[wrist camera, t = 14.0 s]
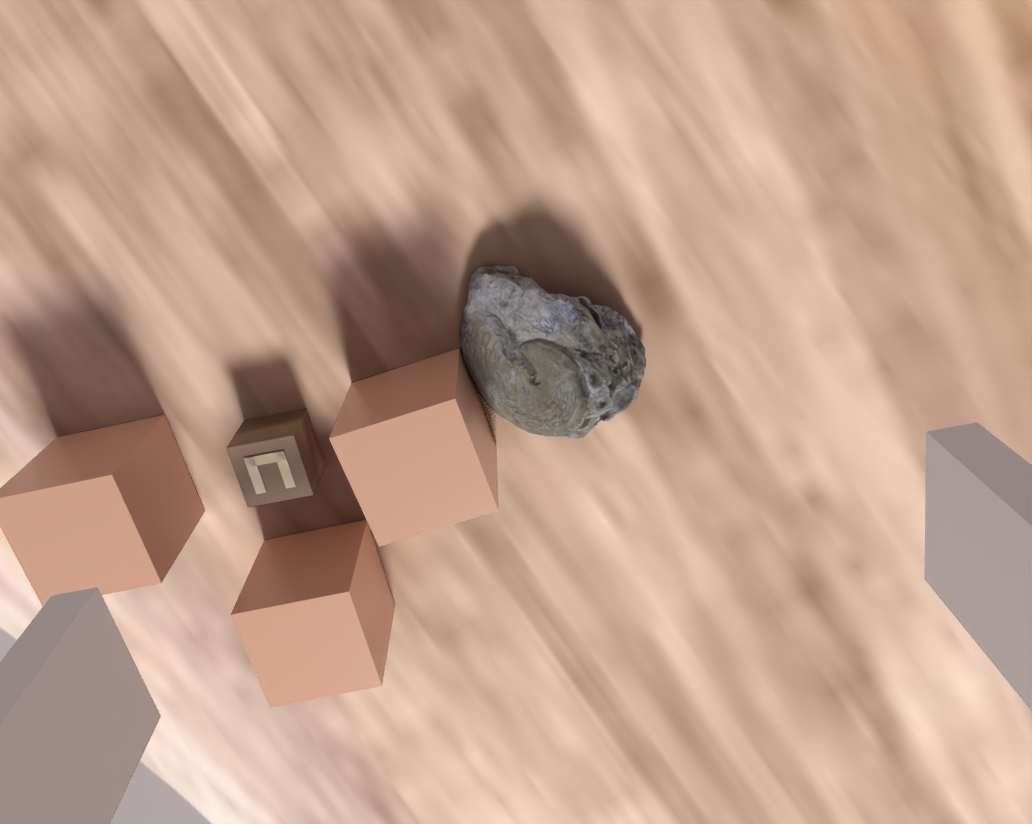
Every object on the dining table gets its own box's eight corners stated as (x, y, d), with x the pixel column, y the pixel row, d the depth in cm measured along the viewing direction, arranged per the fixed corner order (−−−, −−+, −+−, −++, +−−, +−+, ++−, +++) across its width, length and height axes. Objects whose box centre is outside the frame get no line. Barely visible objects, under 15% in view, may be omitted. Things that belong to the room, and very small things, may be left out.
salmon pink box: (57, 437, 52) (-14, 500, 45) (165, 414, 52) (111, 474, 44) (102, 532, 55) (42, 606, 47) (205, 511, 54) (161, 582, 47)
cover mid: (296, 624, 58) (269, 707, 51) (264, 540, 55) (230, 614, 48) (395, 605, 58) (382, 685, 50) (367, 519, 55) (348, 591, 48)
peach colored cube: (351, 383, 51) (329, 438, 44) (459, 348, 50) (455, 398, 43) (393, 478, 54) (378, 546, 46) (496, 447, 53) (498, 510, 46)
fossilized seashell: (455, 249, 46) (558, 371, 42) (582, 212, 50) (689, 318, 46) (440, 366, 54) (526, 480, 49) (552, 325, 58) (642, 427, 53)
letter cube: (244, 420, 52) (225, 448, 48) (307, 408, 52) (293, 436, 48) (264, 476, 54) (247, 508, 50) (324, 464, 53) (312, 495, 50)
